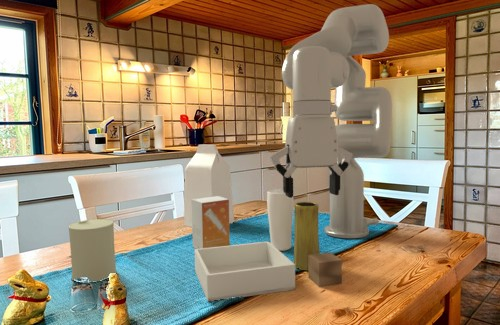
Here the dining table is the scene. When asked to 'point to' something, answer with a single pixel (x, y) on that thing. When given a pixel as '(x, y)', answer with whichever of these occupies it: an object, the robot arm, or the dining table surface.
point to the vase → (305, 233)
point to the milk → (206, 180)
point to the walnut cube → (325, 269)
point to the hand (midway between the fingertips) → (311, 195)
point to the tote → (243, 270)
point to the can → (92, 249)
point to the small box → (210, 222)
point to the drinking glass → (280, 218)
